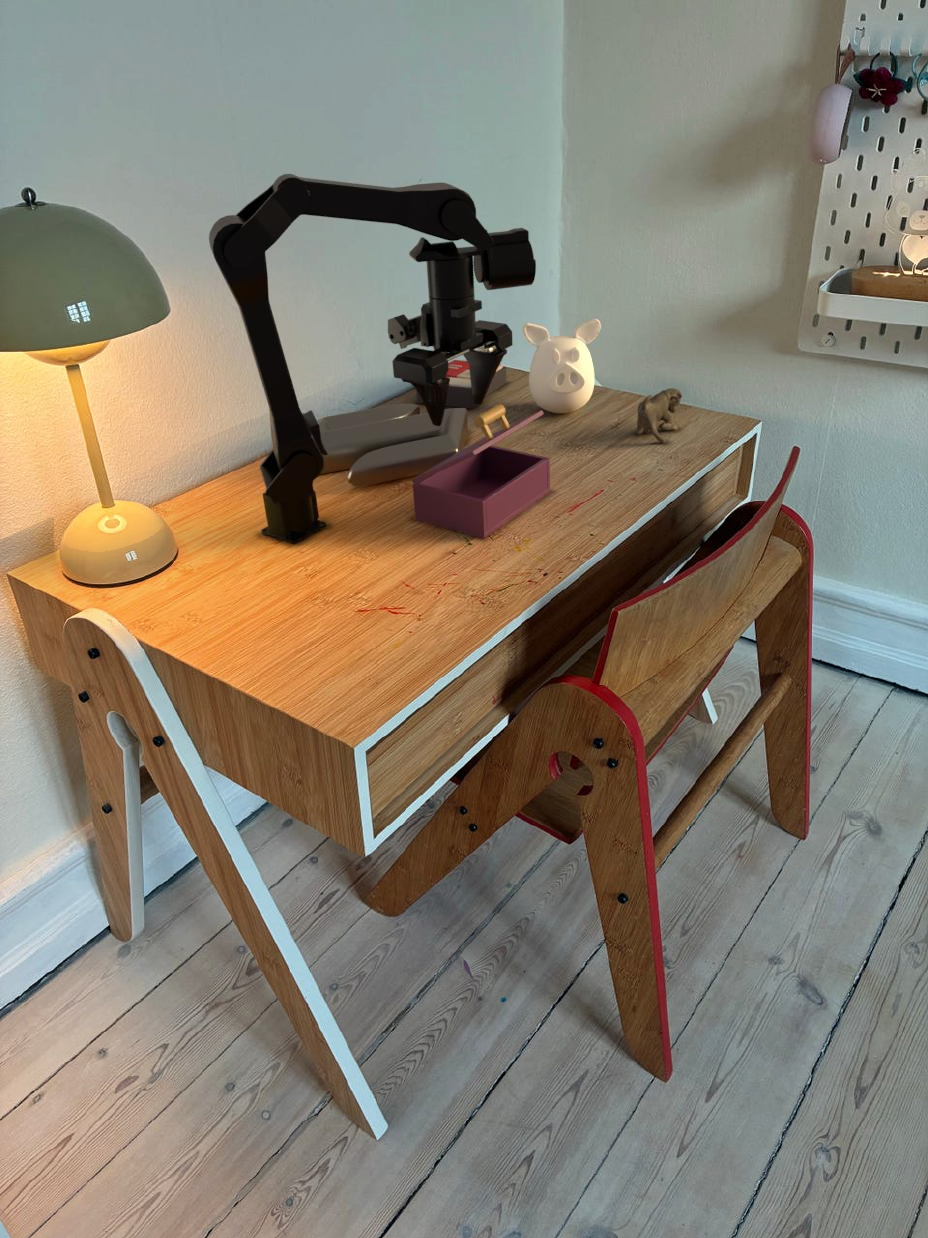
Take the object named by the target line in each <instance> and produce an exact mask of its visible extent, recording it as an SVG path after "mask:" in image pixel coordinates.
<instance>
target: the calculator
mask: <svg viewBox="0 0 928 1238" xmlns="http://www.w3.org/2000/svg"><path fill="white" fill-rule="evenodd" d="M448 366H449V369H448V372H447V374H446V376H445V377H449V378H450V382H449V388H448V393H447V399H446V405H445V407H453V408H466V409H474V408H476V407H477V406H479V405H478V404H475V403H474V401H473V395H472V388H471V379H470V370H469V363H468V361H467V360H461V359H452V360H450V361H449V362H448ZM506 384H507V367H506V366H504V364H503V363H500V365H499V367H498V369H497V371H496V373H495V375H494V377H493V379H492V381H491V384H490V386H489V388H488V391H487V393H486V395H485V397H487V396H489V395H490V394H492V393H493V392H495V391H496V390H498V389H499V388H501V387H503V386H504V385H506ZM415 391H416V393H415V394H416V402H417V403H419V404H424V403H423V401H422V398H421V396H420V395H419V393H418V391H417V389H416V388H415Z"/></svg>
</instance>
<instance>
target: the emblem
mask: <svg viewBox="0 0 928 1238" xmlns="http://www.w3.org/2000/svg"><path fill="white" fill-rule="evenodd" d="M316 420H317V422H318V424H319V426H320V434H321V441H322V443H323V445H324V447H325V449H326V451H327V453H328V454H327V455H322V456H323V460H324V468H323V470H322V471H321V473H320V475H325V474H330V473H336V472H342V471H346V470H349V471H348V472H347V482H348V483H349V484H350V485H351V486H353V487H355V488H362V487H367V486H371V485H377V484H381V483H384V482H385V483H386V482H389V481H393V480H399V479H403V478H407V477H413V476H419V475H420V474H422V473H424V472H425V471H427V470H429V469H431V468H432V467H434V466H436V465H437V464H439V463H441V462H443V461H444V460H446V459H448V458H449V457H451V456H453V455H455V454H456V453H458V452H460V451H461V450H463V449H465V443H466V441H467V440H466V439H467V436H468V430H469V428H468V427H469V426H468V425H469V424H468V411H467V408H461V407H453V408H447V409H445V410H444V416H443V420H442V424H441V425H440V426H435V425H433V423H432V421H431V419H430V417H429V414H428V412H425V413H421V407H420V405H418V404H416V403H397V404H391V405H384V406H378V407H373V408H367V409H361V410H355V411H351V412H345V413H339V414H334V415H328V416H324V417H322V418H318V419H316Z"/></svg>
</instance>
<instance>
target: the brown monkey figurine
mask: <svg viewBox="0 0 928 1238" xmlns="http://www.w3.org/2000/svg"><path fill="white" fill-rule="evenodd" d="M682 398H683V393H682V391H681V390H679V389H678V388H674V387H673V388H667V389H663V390H661V391H660V392H659V393H658V392H657V394H656V393H655V395H652V394H649V395H647V396H646V397H645V398H644V399H643V401H641V402H640V403H639V404H638V406H637V425H636V426H637V427H636V429H635V435H637V436H638V435H642V434H643V433H644V432H645V433H651V435H652V436H653V437H654V438H655V439H656V440H657V441H659V442H660V443H661V444H666V442H667V441H666V438H664V437H663V436H662V435H661V434H660V433H659V431H658V429H657V427H658V428H659V429H660V430H661V431H676V430H678V429H679V428H678V426H677V420H676V419H675V418H674V416H673V415H672V414H675V413H676V412H677V409H678V406H679V404H680V403H681V401H682ZM660 421H663V422H662V423H660V424H659V425H658V426H657V423H658V422H660Z"/></svg>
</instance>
